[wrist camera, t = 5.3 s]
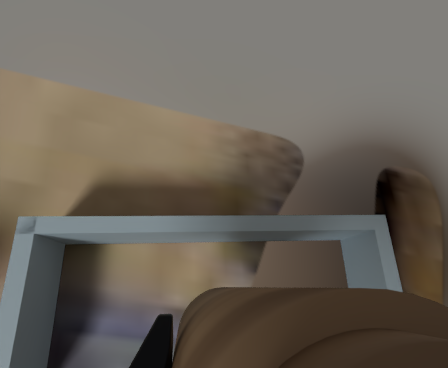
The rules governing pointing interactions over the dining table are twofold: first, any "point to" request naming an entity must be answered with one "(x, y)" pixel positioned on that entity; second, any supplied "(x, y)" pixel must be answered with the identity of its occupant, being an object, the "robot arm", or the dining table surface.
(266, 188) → the dining table surface
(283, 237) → the bracket
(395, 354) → the pepper mill
